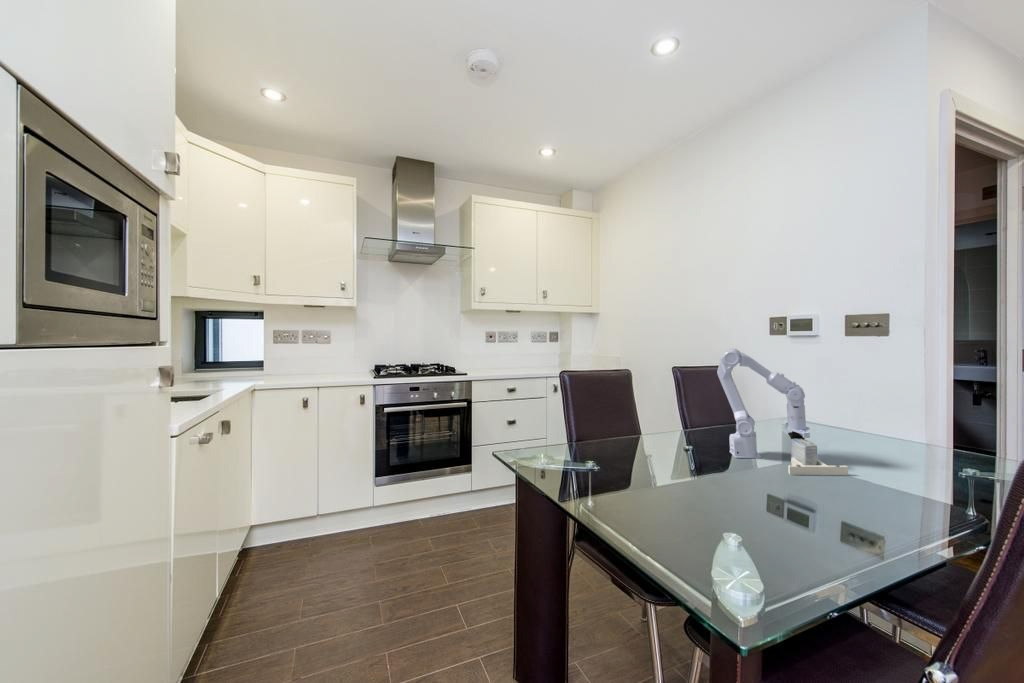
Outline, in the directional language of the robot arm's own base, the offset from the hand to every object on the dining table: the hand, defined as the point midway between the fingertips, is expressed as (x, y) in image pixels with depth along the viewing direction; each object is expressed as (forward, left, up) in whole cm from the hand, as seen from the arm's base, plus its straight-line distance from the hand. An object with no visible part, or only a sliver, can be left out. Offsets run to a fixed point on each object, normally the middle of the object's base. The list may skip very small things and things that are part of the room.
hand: (798, 450), depth 153 cm
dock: (0, -9, -4) cm, 10 cm away
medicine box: (0, -5, -4) cm, 6 cm away
